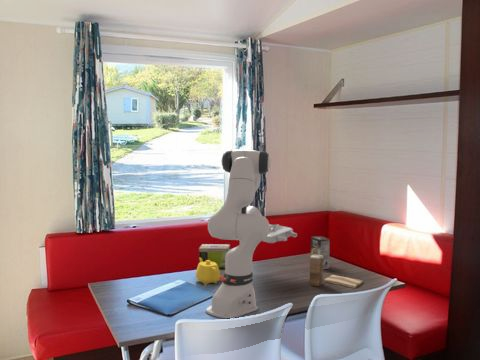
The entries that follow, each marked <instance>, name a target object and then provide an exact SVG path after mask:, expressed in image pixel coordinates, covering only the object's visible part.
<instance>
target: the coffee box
mask: <svg viewBox="0 0 480 360" xmlns="http://www.w3.org/2000/svg"><path fill="white" fill-rule="evenodd" d="M330 241H331V240H330V238H327V237H325V236H321V235H319V236H318V235H316V236H315V235H314V236H310V256H312V255H314V254H316V255H322V256H323V270H326V269H330V249H331V248H330V247H331V246H330V245H331V243H330Z"/></svg>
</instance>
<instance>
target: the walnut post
mask: <svg viewBox="0 0 480 360" xmlns="http://www.w3.org/2000/svg"><path fill="white" fill-rule="evenodd" d="M323 274H324V269H323V256H322V255H316V254H314V255H312V256H311V255H310V257H309V286H313V285H314V287H317V286H319V287H320V286H323V285H324V284H323V283H324V279H323V278H324V275H323Z"/></svg>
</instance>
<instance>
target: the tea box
mask: <svg viewBox="0 0 480 360" xmlns="http://www.w3.org/2000/svg"><path fill="white" fill-rule="evenodd" d="M229 250H231V244H230V243H228V244H227V243H225V244H222V243H221V244H219V243H218V244H216V243H215V244H213V243H211V244H210V243H209V244H207V243H205V244H204V243H202V244H201V245H200V246H199V248H198V264H199V263H200V259H199V257H201V258H202V260H203V262H206V260H210V261H212V262H215V263H216V264H217V265H218V267H219V270H220V276H224V273H225V256H226V253H227V252H228V251H229Z"/></svg>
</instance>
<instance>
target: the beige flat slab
mask: <svg viewBox="0 0 480 360" xmlns="http://www.w3.org/2000/svg"><path fill="white" fill-rule="evenodd" d="M323 283H329V284H333V285H338V286H343V287H347V288H348V287H349V288H352V289H355V288H357V287H358V286H360V285H361V284H363V283H364V280H363V279H362V280H361V279H358V278H352V277H346V276H340V275H335V274H331V275H329V276H328V277H326V278H324V279H323Z"/></svg>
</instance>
